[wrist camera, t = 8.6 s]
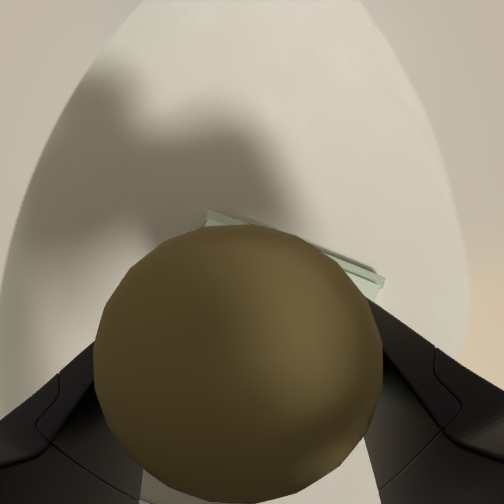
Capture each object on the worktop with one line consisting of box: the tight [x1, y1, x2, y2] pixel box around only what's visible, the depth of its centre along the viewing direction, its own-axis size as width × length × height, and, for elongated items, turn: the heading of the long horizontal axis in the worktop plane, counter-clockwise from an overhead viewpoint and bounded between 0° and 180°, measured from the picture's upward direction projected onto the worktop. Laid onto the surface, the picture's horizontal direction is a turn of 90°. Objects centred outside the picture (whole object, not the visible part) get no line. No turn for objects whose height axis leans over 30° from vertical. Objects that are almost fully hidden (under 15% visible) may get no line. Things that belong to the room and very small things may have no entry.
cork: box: [93, 224, 383, 504], centre depth 9 cm, size 6×6×11 cm
